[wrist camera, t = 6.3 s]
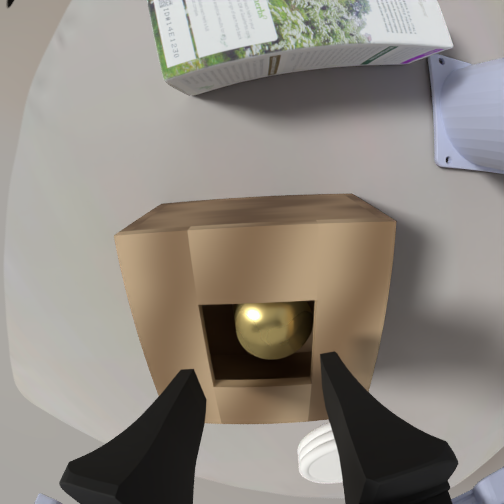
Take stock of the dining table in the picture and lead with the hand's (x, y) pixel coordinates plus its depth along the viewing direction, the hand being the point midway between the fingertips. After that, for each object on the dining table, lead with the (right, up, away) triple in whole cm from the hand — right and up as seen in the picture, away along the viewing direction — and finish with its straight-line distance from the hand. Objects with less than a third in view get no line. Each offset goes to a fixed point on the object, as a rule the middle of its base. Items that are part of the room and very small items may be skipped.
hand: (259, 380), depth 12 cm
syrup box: (-5, +16, +1) cm, 17 cm away
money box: (0, +3, +8) cm, 9 cm away
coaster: (+10, -15, +15) cm, 24 cm away
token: (0, +3, +7) cm, 8 cm away
